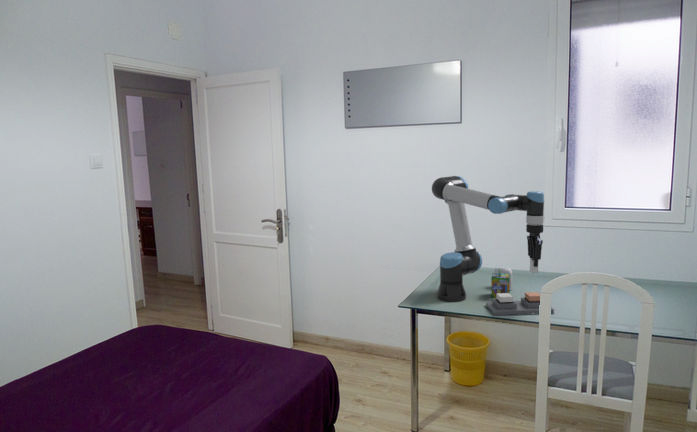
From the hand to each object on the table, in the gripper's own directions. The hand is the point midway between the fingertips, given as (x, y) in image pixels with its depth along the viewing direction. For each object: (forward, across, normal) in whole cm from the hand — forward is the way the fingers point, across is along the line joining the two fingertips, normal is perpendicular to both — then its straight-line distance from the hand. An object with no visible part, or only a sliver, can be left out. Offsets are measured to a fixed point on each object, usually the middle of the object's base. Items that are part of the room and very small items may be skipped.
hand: (533, 272), depth 223 cm
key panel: (+18, 0, +7) cm, 20 cm away
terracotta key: (+13, 0, 0) cm, 13 cm away
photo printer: (+19, +35, +3) cm, 40 cm away
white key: (+13, 0, +14) cm, 19 cm away
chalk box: (+19, +21, +9) cm, 30 cm away
